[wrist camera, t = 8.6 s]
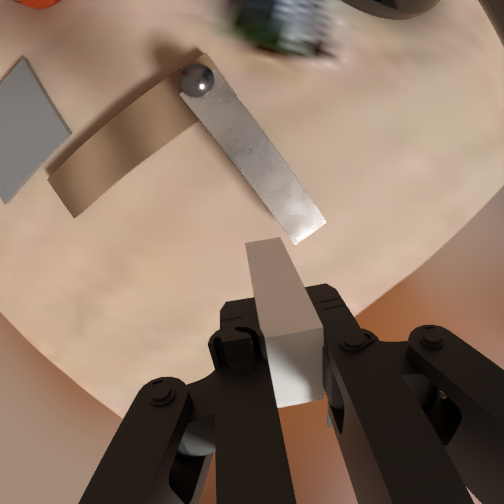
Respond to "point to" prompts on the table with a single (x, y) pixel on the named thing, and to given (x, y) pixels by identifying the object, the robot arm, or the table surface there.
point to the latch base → (125, 142)
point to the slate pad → (26, 128)
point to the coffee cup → (38, 3)
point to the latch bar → (250, 150)
